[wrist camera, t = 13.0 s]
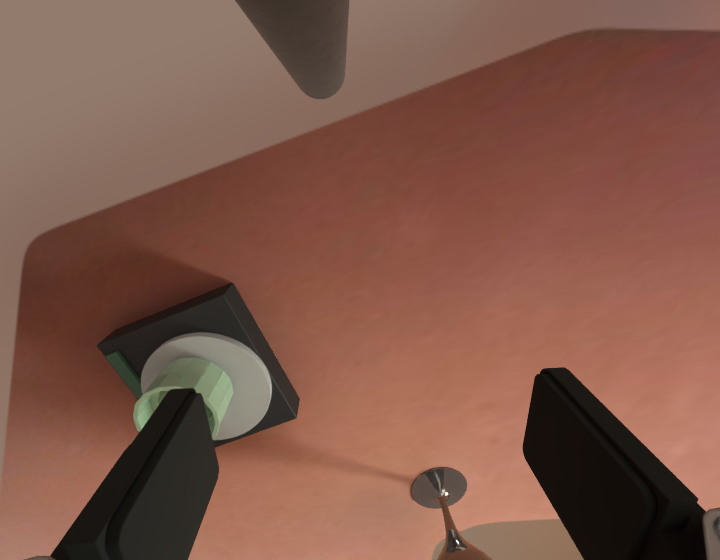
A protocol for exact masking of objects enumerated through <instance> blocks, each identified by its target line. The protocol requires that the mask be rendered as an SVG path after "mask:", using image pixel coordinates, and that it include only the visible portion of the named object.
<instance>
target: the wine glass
mask: <svg viewBox="0 0 720 560" xmlns="http://www.w3.org/2000/svg"><path fill="white" fill-rule="evenodd" d="M466 489H467V482H466V479H465V477H464V476H463V475H462V474H461V473H460V472H459V471H457V470H454V469H451V468H435V469H431V470H429V471H426V472H425V473H423V474H421V475H420V476H419V477H418V478H417V479H416V480H415V482H414V483H413V486H412V496H413V498H414V499H415V501H416V502H417V503H419V504H420V505H422V506H424V507H427V508H442V511H443V516H444V522H445V528H446V540H445V544H444V547H443V549H442V551H441V553H440V555H439V557H438V558H437V560H492V559H491V558H490V557H488V556H487V555H486V554H485V553H484V552H483V551H481V550H479V549H478V548H476V547H475V546H473V545H472V544H470V543H468V542H467V541H466V540H465V539H464V538H463V537H462V536H461V535H460V534H459V532H458V531H457V529H456V527H455V524H454V522H453V520H452V517H451V515H450V512H449V509H448V506H450V505H453V504H454V503H456V502H457V501H459V500H460V499H461V498H462V497H463V495H464V494H465V492H466Z"/></svg>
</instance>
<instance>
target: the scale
mask: <svg viewBox="0 0 720 560" xmlns="http://www.w3.org/2000/svg"><path fill="white" fill-rule="evenodd" d="M97 347H98V348H99V349H100V351H101V352H102V353H103V355H104V356H105V358H106V359H107V360H108V362H109V363H110V364H111V365H112V367H113V368H114V369H115V370H116V372H117V373H118V374H119V376H120V377H121V378H122V379H123V381H124V382H125V383H126V384H127V386H128V387H129V388H130V389H131V391H132V392H133V393H134V395H135V396H136V397H137V398H138V399H139V398H140V397H141V396H142V394H143V393H144V392H145V391H146V389H147V388H148V387H149V386H150V384H151V383H152V382H153V381H154V379H155V378H156V377H157V376H158V374H159V373H160V372H161V371H162V370H163V368H164V367H165V366H166V365H167V364H169V363H171V362H173V361H176V360H178V359H181V358H194V357H195V358H200V359H204V360H207V361H210V362H212V363H214V364H215V365H217V366H218V367H220V368H221V369H223V370H224V371H225V373H226V374H227V376H228V377H229V378H230V380H231V382H232V387H233V397H232V400H231V403H230V406H229V408H228V410H227V413H226V415H225V418H224V420H223V422H222V425H221V427H220V429H219V432H218V434H217V436H216V437H215V438H214V439H213V443H214V448H215V447H217V446H220V445H223V444H226V443H229V442H231V441H234V440H237V439H240V438H243V437H245V436H248V435H251V434H254V433H256V432H259V431H262V430H265V429H268V428H270V427H273V426H276V425H279V424H282V423H284V422H287V421H290V420H293V419H296V418H297V412H298V406H299V400H300V399H299V397H298V395H297V393H296V392H295V390H294V388H293V386H292V385H291V383H290V381H289V379H288V378H287V376H286V374H285V373H284V371H283V369H282V367H281V366H280V364H279V362H278V360H277V359H276V357H275V355H274V353H273V352H272V350H271V348H270V346H269V345H268V343H267V341H266V339H265V338H264V336H263V334H262V333H261V331H260V329H259V327H258V326H257V324H256V322H255V320H254V319H253V317H252V315H251V313H250V312H249V310H248V308H247V306H246V305H245V303H244V301H243V299H242V298H241V296H240V294H239V292H238V291H237V289H236V287H235V286H234V284H233V283H231V284H228V285H226V286H223V287H221V288H218V289H216V290H213V291H211V292H208V293H206V294H203V295H201V296H198V297H196V298H193V299H191V300H188V301H186V302H183V303H181V304H178V305H176V306H173V307H171V308H168V309H166V310H163V311H161V312H159V313H156V314H154V315H151V316H149V317H146V318H144V319H141V320H139V321H136V322H134V323H131V324H129V325H126V326H124V327H121V328H119V329H116V330H115V331H114V332H112V333H111V334H110V335H109V336H107V337H106V338H105V339H104V340H103V341H101V342H100V343H99V344H98V345H97Z"/></svg>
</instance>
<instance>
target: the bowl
mask: <svg viewBox="0 0 720 560" xmlns="http://www.w3.org/2000/svg"><path fill="white" fill-rule="evenodd" d="M181 388H194V389H195V390H196V393H201V394H202V396H203V400H204V404H205V409H206V413H207V417H208V422H209V426H210V430H211V435H212V439H214V438H215V437H216V436H217V434H218V432H219V429H220V427H221V425H222V422H223V420H224V418H225V415H226V413H227V410H228V408H229V406H230V403H231V400H232V397H233V387H232V382H231V380H230V378H229V377H228V376H227V374H226V373H225V371H224V370H223V369H221V368H220V367H218V366H217V365H215V364H214V363H212V362H210V361H207V360H204V359H200V358H195V357H194V358H181V359H178V360H176V361H173V362H171V363H169V364H167V365H166V366H165V367H164V368H163V370H162V371H161V372H160V373H159V374H158V376H157V377H156V378H155V379H154V381H153V382H152V383H151V384H150V386H149V387H148V388H147V389H146V391H145V392H144V393H143V394H142V396H141V397H140V398H139V399H138V401H137V402H136V403H135V407H134V412H133V420H134V422H135V425H136V428H137V430H138V431H139V432H140V431H141V430H142V428H143V427H144V425H145V424H146V422H147V421H148V420H149V418H150V417H151V415H152V414H153V412H154V411H155V410H156V408H157V407H158V405H159V404H160V402H161V401H162V400H163V398H164V397H165V395H166V394H167V392H168V391H169V390H171V389H181Z"/></svg>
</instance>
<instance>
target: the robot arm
mask: <svg viewBox="0 0 720 560" xmlns="http://www.w3.org/2000/svg"><path fill="white" fill-rule="evenodd" d="M523 453H524V457H525V459H526V461H527V463H528V465H529V466H530V468H531V470H532V471H533V473H534V475H535V477H536V478H537V480H538V482H539V483H540V485H541V487H542V489H543V490H544V492H545V494H546V495H547V497H548V499H549V500H550V502H551V504H552V506H553V507H554V509H555V511H556V512H557V514H558V516H559V518H560V519H561V521H562V523H563V524H564V526H565V528H566V529H567V531H568V533H569V535H570V536H571V538H572V540H573V541H574V543H575V545H576V547H577V548H578V550H579V552H580V553H581V555H582V557H583V558H584V560H720V508H715V509H709V510H708V511H707V512H706V511H705V510H704V509H703V508H702V507H701V506H700V505H699V504H698V503H697V501H698V498H697V497H696V496H695V495H694V494H693V493H692V492H691V491H690V490H689V489H688V488H687V487H686V486H685V485H684V484H683V483H682V482H681V481H680V480H679V479H678V478H677V477H676V476H675V475H674V474H673V473H672V472H671V471H670V470H669V469H668V468H667V467H666V466H665V465H664V464H663V463H662V462H661V461H660V460H659V459H658V458H657V457H656V456H655V455H654V454H653V453H652V452H651V451H650V450H649V449H648V448H647V447H646V446H645V445H644V444H643V443H642V442H641V441H640V440H638V439H637V438H636V437H635V436H634V435H633V434H632V433H631V432H630V431H629V430H628V429H627V428H626V427H625V426H624V425H623V424H622V423H621V422H620V421H619V420H618V419H617V418H616V417H615V416H614V415H613V414H612V413H611V412H610V411H609V410H608V409H607V408H606V407H605V406H604V405H603V404H602V403H601V402H600V401H599V400H598V399H597V398H596V397H595V396H594V395H593V394H592V393H591V392H590V391H589V390H588V389H587V388H586V387H585V386H584V385H583V384H582V383H581V382H580V381H579V380H578V379H577V378H576V377H575V376H574V375H573V374H572V373H571V372H570V371H569V370H568V369H566V368H545V369H542V370H541V372H540V374H537V375H536V376H535V380H534V385H533V391H532V397H531V402H530V408H529V414H528V419H527V425H526V431H525V436H524V442H523ZM218 473H219V465H218V461H217V456H216V452H215V448H214V443H213V439H212V435H211V430H210V426H209V422H208V417H207V413H206V409H205V404H204V400H203V396H202V394H201V393H196V390H195V389H194V388H181V389H171V390H169V391H168V392H167V394H166V395H165V397H164V398H163V400H162V401H161V402H160V404H159V405H158V407H157V408H156V410H155V411H154V412H153V414H152V415H151V417H150V418H149V420H148V421H147V422H146V424H145V425H144V427H143V428H142V430H141V431H140V432H139V434H138V435H137V437H136V438H135V440H134V441H133V442H132V444H131V445H129V446H128V448H127V449H126V450H125V451H124V452H123V454H122V455H121V457H120V458H119V459H118V461H117V462H116V464H115V465H114V466H113V468H112V469H111V471H110V472H109V474H108V475H107V476H106V478H105V479H104V481H103V482H102V483H101V485H100V486H99V488H98V489H97V491H96V492H95V493H94V495H93V496H92V498H91V499H90V500H89V502H88V503H87V505H86V506H85V507H84V509H83V510H82V512H81V513H80V515H79V516H78V517H77V519H76V520H75V522H74V523H73V524H72V526H71V527H70V529H69V530H68V531H67V533H66V534H65V536H64V537H63V539H62V540H61V541H60V543H59V544H58V546H57V547H56V548H55V550H54V551H53V553H52V554H51V556H36V557H32V558H28V559H25V560H188V557H189V555H190V552H191V549H192V547H193V544H194V541H195V539H196V536H197V533H198V530H199V528H200V525H201V522H202V520H203V517H204V514H205V512H206V509H207V506H208V503H209V501H210V498H211V495H212V493H213V490H214V487H215V484H216V482H217V479H218Z"/></svg>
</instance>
